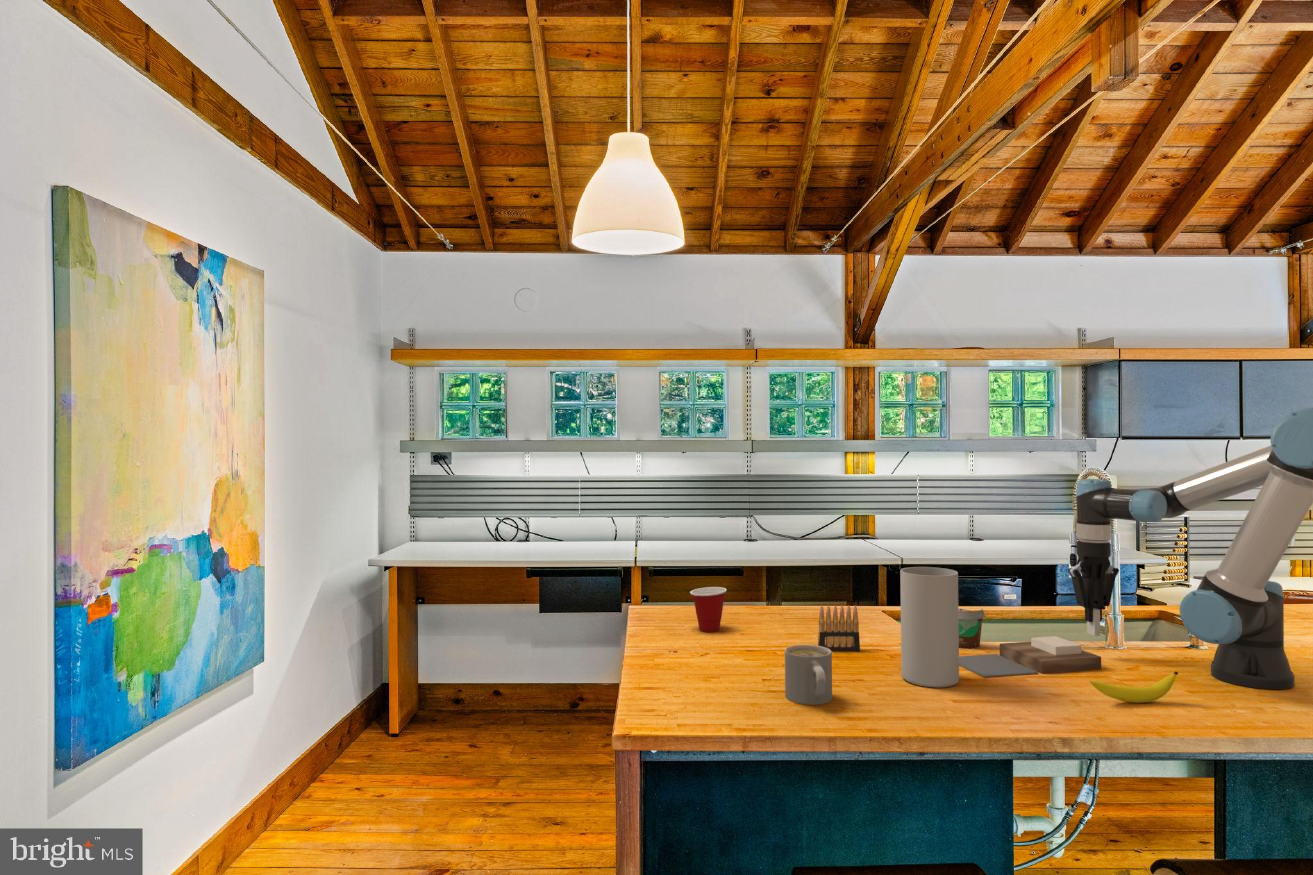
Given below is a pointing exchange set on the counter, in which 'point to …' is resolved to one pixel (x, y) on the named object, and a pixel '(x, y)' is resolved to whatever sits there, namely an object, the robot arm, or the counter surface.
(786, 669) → the coffee mug
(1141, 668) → the counter surface
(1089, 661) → the walnut board
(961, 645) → the food container
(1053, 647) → the ceramic tile
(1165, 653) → the counter surface
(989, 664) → the charcoal mat
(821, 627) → the ammunition clip
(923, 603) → the cylinder vase
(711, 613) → the plastic cup
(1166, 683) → the banana
